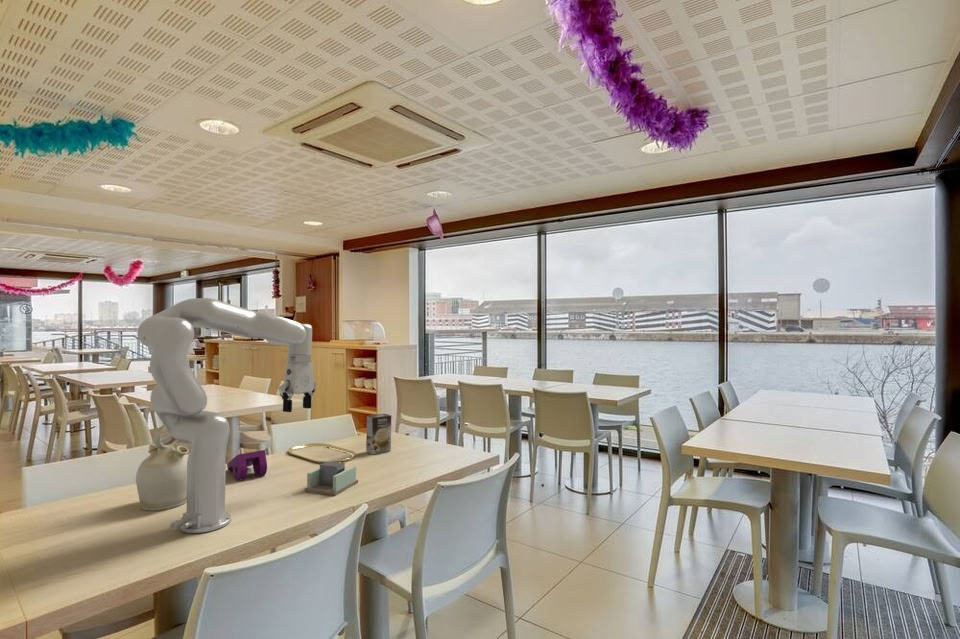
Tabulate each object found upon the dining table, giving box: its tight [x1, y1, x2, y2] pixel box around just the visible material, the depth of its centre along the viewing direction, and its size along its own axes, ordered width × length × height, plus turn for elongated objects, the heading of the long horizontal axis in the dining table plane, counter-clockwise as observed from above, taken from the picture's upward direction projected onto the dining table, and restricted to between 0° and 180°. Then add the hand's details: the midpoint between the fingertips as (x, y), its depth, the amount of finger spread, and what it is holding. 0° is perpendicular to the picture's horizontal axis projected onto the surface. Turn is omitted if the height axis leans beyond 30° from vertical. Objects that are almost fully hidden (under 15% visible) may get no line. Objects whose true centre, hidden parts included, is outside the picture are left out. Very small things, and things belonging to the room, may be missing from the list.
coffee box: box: [365, 413, 392, 455], centre depth 214 cm, size 9×6×16 cm
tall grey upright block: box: [319, 460, 346, 487], centre depth 168 cm, size 4×7×7 cm, turn 72°
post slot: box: [304, 465, 359, 497], centre depth 168 cm, size 14×12×6 cm
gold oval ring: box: [287, 442, 357, 464], centre depth 209 cm, size 19×35×2 cm, turn 52°
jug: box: [135, 424, 190, 512], centre depth 152 cm, size 15×16×25 cm
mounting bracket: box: [226, 449, 268, 482], centre depth 181 cm, size 9×8×18 cm
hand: (297, 409), depth 165 cm, fingers open, 9 cm apart
